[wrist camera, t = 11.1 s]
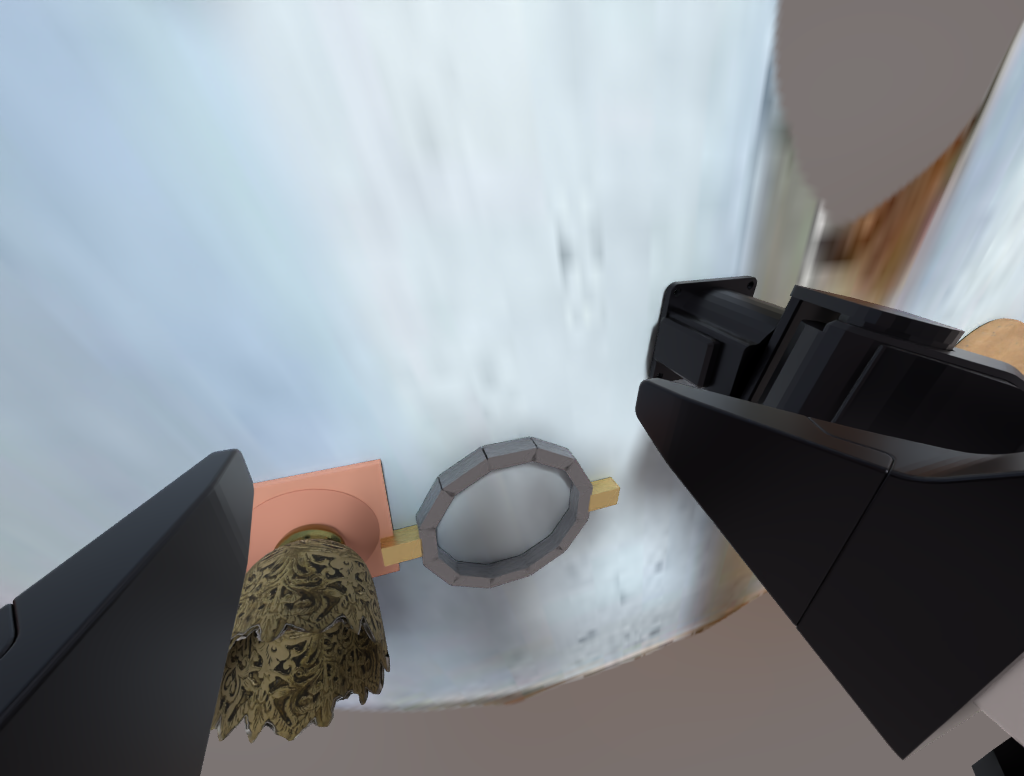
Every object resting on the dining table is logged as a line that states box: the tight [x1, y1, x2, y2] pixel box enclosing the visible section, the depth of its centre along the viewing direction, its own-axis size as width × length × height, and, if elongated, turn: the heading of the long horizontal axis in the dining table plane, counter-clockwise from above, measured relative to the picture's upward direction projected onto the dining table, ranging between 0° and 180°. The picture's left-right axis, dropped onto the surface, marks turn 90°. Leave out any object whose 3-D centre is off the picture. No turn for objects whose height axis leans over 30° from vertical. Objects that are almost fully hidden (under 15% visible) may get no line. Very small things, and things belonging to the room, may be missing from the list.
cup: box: [211, 524, 390, 743], centre depth 20 cm, size 8×7×8 cm
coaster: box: [246, 459, 400, 578], centre depth 24 cm, size 9×9×1 cm
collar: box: [380, 437, 620, 588], centre depth 28 cm, size 17×12×1 cm
